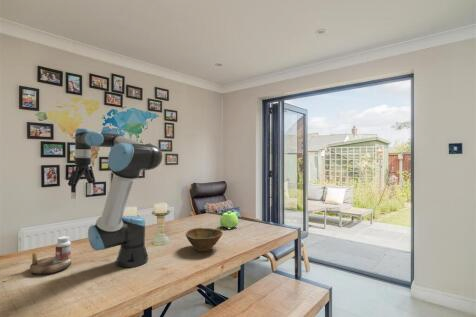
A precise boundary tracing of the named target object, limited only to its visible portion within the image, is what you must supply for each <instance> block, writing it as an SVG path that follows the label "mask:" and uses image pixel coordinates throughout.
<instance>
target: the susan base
mask: <svg viewBox="0 0 476 317" xmlns="http://www.w3.org/2000/svg"><path fill="white" fill-rule="evenodd" d="M62 270H64V269H62ZM62 270H59V271H55V272H51V273H43V274H42V275H49V274H54V273H57V272H61V271H62Z"/></svg>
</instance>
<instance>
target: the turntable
mask: <svg viewBox="0 0 476 317" xmlns="http://www.w3.org/2000/svg"><path fill="white" fill-rule="evenodd" d="M31 256H32V257H31V258H32V259H31V260H32V262H31V264H30V265H29V271H30V272H31V273H32V274H38V275H44V274H43V273H50V274H52V273H51V272H54V273H56V272H55V271H58V272H60V271H59V270H61V271H62V269H63V270H65V269H67V268H68V267H70V266H71V264H72V258H71V257H70V260H68V261H65V262H56V261H55V256H50V257H45V258H42V259H39V260H38V252H33V253H32V255H31Z"/></svg>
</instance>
